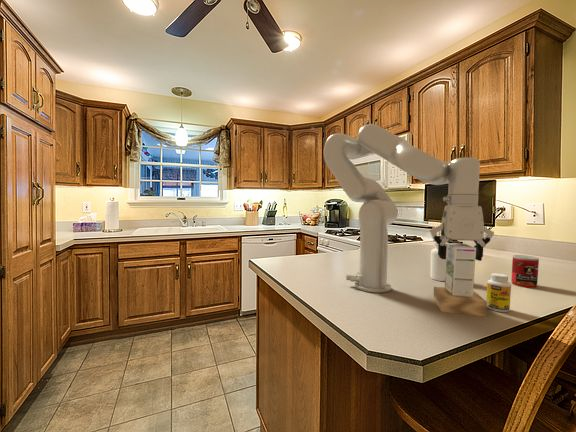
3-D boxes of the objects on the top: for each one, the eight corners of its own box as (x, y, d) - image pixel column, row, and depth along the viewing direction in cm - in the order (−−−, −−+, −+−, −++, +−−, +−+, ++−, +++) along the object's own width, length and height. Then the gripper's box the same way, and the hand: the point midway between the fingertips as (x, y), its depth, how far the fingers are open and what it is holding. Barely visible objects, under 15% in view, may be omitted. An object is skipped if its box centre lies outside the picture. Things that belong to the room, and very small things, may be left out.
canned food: (515, 286, 105) (517, 257, 105) (508, 281, 113) (509, 254, 112) (541, 289, 102) (543, 259, 102) (531, 283, 110) (533, 255, 109)
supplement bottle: (486, 310, 81) (488, 275, 81) (485, 304, 86) (486, 271, 85) (511, 314, 78) (513, 278, 78) (508, 308, 83) (510, 274, 82)
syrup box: (473, 297, 80) (478, 247, 78) (451, 295, 81) (455, 246, 79) (464, 290, 85) (468, 243, 84) (443, 288, 86) (447, 242, 85)
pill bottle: (431, 275, 120) (433, 240, 119) (453, 278, 115) (454, 242, 114) (428, 279, 113) (429, 242, 112) (451, 283, 108) (452, 244, 108)
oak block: (441, 312, 80) (441, 297, 79) (433, 300, 90) (433, 286, 90) (486, 318, 76) (486, 301, 76) (472, 304, 87) (473, 290, 87)
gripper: (436, 200, 79) (433, 260, 80) (502, 201, 77) (499, 263, 78) (426, 200, 87) (424, 255, 87) (487, 201, 84) (484, 257, 85)
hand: (459, 259), depth 83 cm, fingers open, 9 cm apart
